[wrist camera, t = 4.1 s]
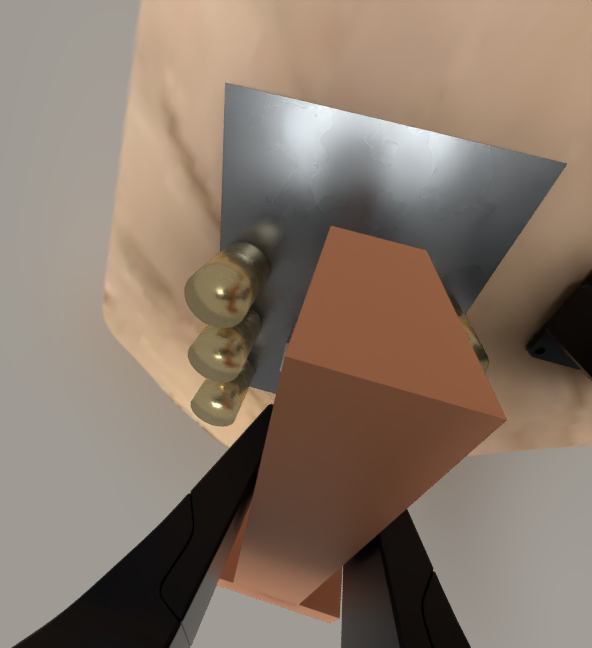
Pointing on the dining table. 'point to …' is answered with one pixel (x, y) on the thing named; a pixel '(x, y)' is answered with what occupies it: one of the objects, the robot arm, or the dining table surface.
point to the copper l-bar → (357, 420)
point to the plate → (339, 224)
